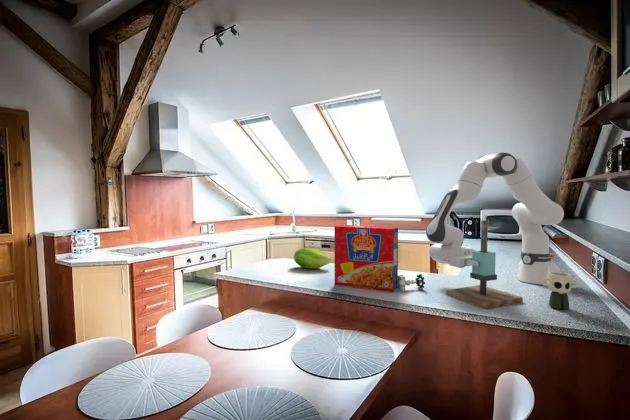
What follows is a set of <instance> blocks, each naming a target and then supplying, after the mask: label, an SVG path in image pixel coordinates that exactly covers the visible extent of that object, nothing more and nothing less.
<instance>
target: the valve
mask: <svg viewBox="0 0 630 420" xmlns="http://www.w3.org/2000/svg"><path fill="white" fill-rule="evenodd" d="M424 280H425V277H424V276H423V274H422V273H421V274H417V275H416V278H415V279H411V280H410V279H409V278H406V275H405V274H398V280H397V286H398V288H397V291H399V292H405V291H406V286H408V287H409V286H411V285H415V284H416V286H417V287H418V289H419V288H422V289H424V288H425V286H424V285H425V284H426V282H425V281H424Z"/></svg>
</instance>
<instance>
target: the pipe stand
mask: <svg viewBox="0 0 630 420" xmlns="http://www.w3.org/2000/svg"><path fill="white" fill-rule="evenodd" d="M488 224H489V221H488V220H481V221H480V251H481V252H482V253H487V251H488V237H489V236H488V232H489V231H488ZM487 282H488V281H481V280H479V284H478V285H472V286H464V287H458V288H452V289H446V291H445V295H446V296H449V297H452V298H454V299H456V300H457V299H458V300H460V301H463V302H465V303H468V304H471V305H474V306H476V307H479V308H481V309H485V310H489V309H493V308H500V307H504V306H506V307H507V306H510V305H514V304H515V305H516V304H521V303H523V301H524V300H523V299H524V298H523V296H520V295H516V294H514V293H511V292H510V293H509V292H506V291H504V290H503V291H502V290H498V289H495V288H493V287H490V286H489V287H488V285H487Z"/></svg>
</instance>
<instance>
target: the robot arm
mask: <svg viewBox="0 0 630 420" xmlns="http://www.w3.org/2000/svg"><path fill="white" fill-rule="evenodd" d="M497 177H502V178H503V180H504V182H505V184H506V186H507V187H508V190H509V192H510V193H511V195H512V196H513V198H514V200H517V201H518V202H517V203H516V204H514V205H513V207H512V209H511V216H512V218H513V219H514V220H515V221H516V222H517V224H518V227H519V230H520V233H521V248H522V249H521V252H520V259H521V260H520V261H519V263H518V271H517V274H516V275H515V278H516V279H517V280H518V281H520V282H523V283H528V284H533V285H542V286H543V278H548V274H549V272H561V269H560V268H559V267H558V266H557V265H556V264H555V263H554V262H553V261H552V259H554V258H555V257H556V255H555V253H551V252H550V237H549V235H548V233H546V232H545V231H544V229H543V226H552V225H557V224H560V223H561V222H562V220H563V219H564V217H565V212H564V211H565V210H564V209H563V206H561V205H560V204H558V203H556V202H555V201H553V200H551V199H550V198H549V197H548V196H547V195H546V194H545V193H544V192H543V191H542V190H541V188H540V187H539V186H538V184H537V182H536V180H535V178H534V177H533V175H532V173H531V171H530V169H529V168H528V167H527V165H526V163H525V162H524V161H523V160H522V159H521V158H520V157H518V156H514V155H513V154H511V153H508V152H504V151H503V152H496V153H495V152H494V153H493V152H492V153H490V154H486V155H481V156H479V157H477V158H476V159H474V160H471V161H468V162H466V163H465V165H464V166H463V168H462V170H461V172H460V173H459V176H458V179H456V180H457V181H456V183H455V185H454V186H453V188H451V189H449V190H448V191H447V192H446V193H445V195H444V196H443V199H442V200H441V203H440V204H439V206H438V208H437V209H436V212H435V214H434V216H433V217H432V219H431V220H430V222H429V223H428V224H427V225H426V228H425V235H426V237H427V240H428V241H429V242H432V243H433V244H432V245H431V246H430V247H429V248H428V254H429V257H430V258H431V259H432V260H433V261H434V262H436V263H439V264H443V265H449V266H452V267H455V268H459V269H463V268H465V267H471V266H480V262H479V261H472V251H477V250H476V249H472V248H465V247H464V248H463V247H462V246H463V244H464V241H465V236H464V235H465V234H464V231H462V229H460V228H458V227H455V226H453V225H450V224H448V223H447V220H448V218H449V217H450V214H451V212H452V211H453V209H454V207H455V206H457V205H458V204H459V205H460V204H468V203H472V202H474V201H476V200H477V199H478V197H479V195H480V194H481V191H482V188H483V184H484V181H485V180H486V178H497ZM546 284H548V280H546Z"/></svg>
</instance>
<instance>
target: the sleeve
mask: <svg viewBox="0 0 630 420" xmlns="http://www.w3.org/2000/svg"><path fill="white" fill-rule="evenodd" d="M472 261H479V262H480V266H472V267H471V273H474V274H478V275H482V276H489V275H495V274H496V252H494V251H488V250H487V253H482V252H481V250H476V251H472Z"/></svg>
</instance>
